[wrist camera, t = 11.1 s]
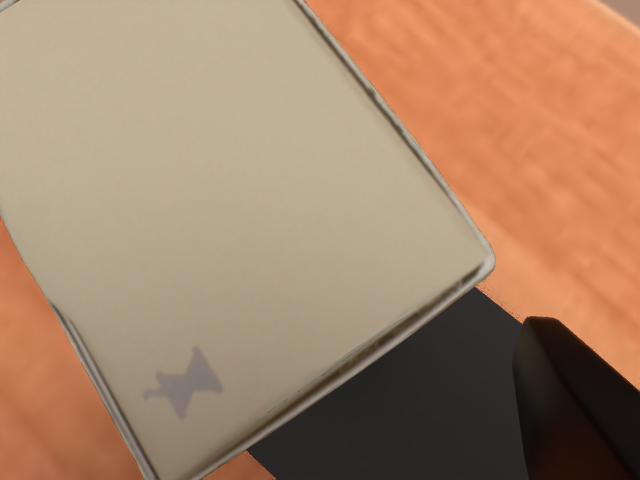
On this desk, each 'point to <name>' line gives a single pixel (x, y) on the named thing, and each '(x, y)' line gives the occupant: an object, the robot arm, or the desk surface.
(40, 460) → the desk surface
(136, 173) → the cosmetic box
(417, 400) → the mat
